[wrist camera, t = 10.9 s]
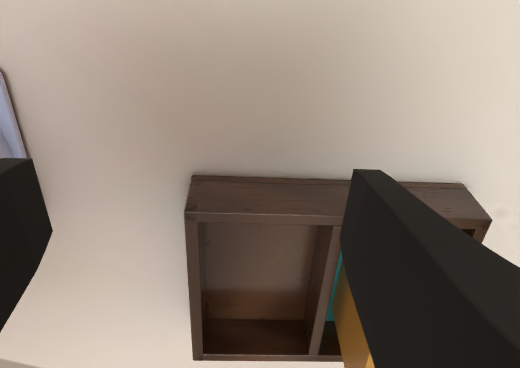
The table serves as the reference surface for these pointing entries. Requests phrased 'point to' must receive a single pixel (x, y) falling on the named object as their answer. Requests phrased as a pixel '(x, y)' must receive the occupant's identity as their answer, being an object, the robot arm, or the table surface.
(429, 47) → the table surface
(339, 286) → the carton
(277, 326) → the organizer
